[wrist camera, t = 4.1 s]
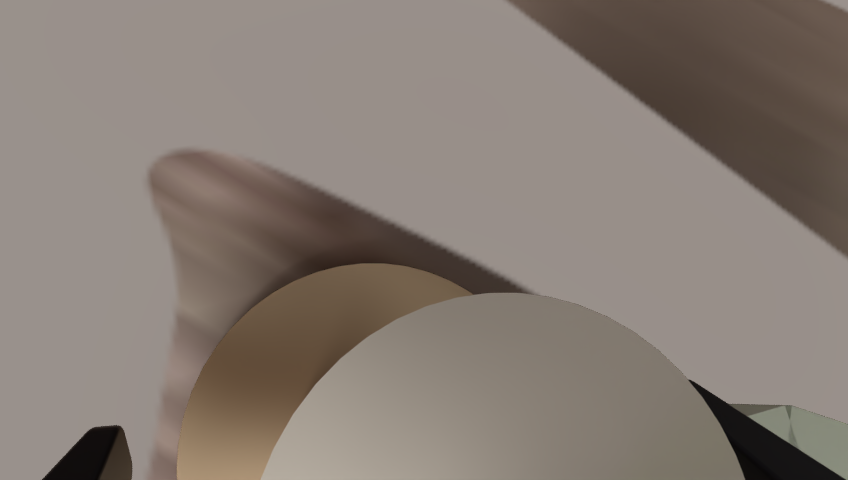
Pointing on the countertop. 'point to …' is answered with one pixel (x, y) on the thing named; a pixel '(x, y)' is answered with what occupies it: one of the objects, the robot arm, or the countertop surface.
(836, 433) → the bowl
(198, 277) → the countertop surface
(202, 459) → the cork mat
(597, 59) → the countertop surface
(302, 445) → the white dome-topped cylinder
